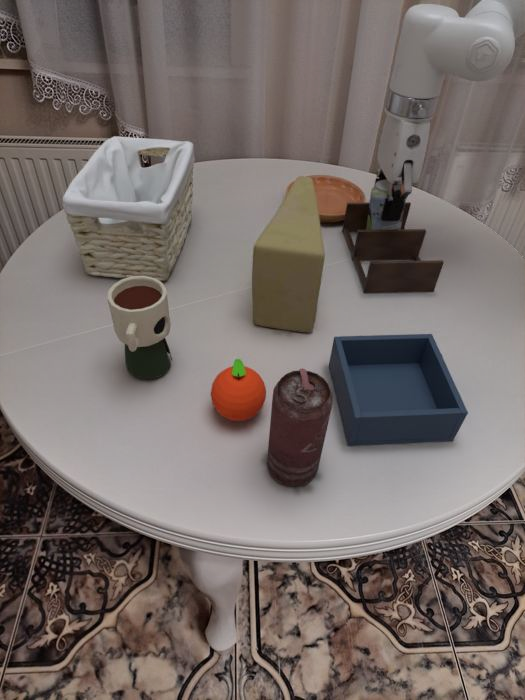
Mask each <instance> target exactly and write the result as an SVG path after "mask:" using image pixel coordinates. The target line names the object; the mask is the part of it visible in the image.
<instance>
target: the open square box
mask: <svg viewBox="0 0 525 700" xmlns="http://www.w3.org/2000/svg"><path fill="white" fill-rule="evenodd" d="M328 368H329V373H330V378H331V382H332V386H333V391H334V394H335V400H336V403H337V407H338V411H339V415H340V416H339V417H340V420H341V424H342V428H343V432H344V438H345V441H346V445H347V447H355V446H356V447H357V446H374V445H376V446H377V445H397V444H398V445H399V444H419V443H421V444H422V443H441V442H442V443H443V442H454V441H455V439H456V437H457V434H458V433H459V431H460V429H461V428H462V425H463V423H464V422H465V419H466V418H467V416H468V414H469V411H468V410H467V408H466V405H465V403H464V401H463V398H462V397H461V394H460V392H459V390H458V388H457V386H456V383H455V381H454V379H453V376H452V375H451V373H450V371H449V368H448V366H447V364H446V361H445V359H444V357H443V355H442V353H441V351H440V349H439V346H438V344H437V342H436V339H435V338H434V335H433V333H413V334H412V333H411V334H410V333H409V334H379V335H377V334H375V335H343V336H342V335H341V336H333V342H332V346H331V352H330V357H329V362H328Z"/></svg>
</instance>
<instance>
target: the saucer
mask: <svg viewBox="0 0 525 700" xmlns="http://www.w3.org/2000/svg"><path fill="white" fill-rule="evenodd" d="M304 177H311V178H312V180H313V184H314V189H315V194H316V198H317V203H318V210H319V218H320V223H328V224H329V223H340V222H344V217H345V211H346V206H347V203H366V195H365V192H364V191H363V189H361V187H360V186H358V185H357V184H356V183H354V182H352V181H350V180H348V179H345V178H342V177H339V176H334V175H328V174H312V175H306V176H304ZM294 182H295V180H293V181H292V182H290V183H289V184H288V185H287V187H286V189H285V197H286V196H287V194H288V192H289V190H290V188H291V186H292V185H293V183H294Z"/></svg>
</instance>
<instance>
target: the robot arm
mask: <svg viewBox="0 0 525 700" xmlns="http://www.w3.org/2000/svg"><path fill="white" fill-rule="evenodd" d="M524 34H525V0H480V1H479V2H478V3H477V4H476V5H474V6H473V7H472V8H471V9H470V10H469V11H468V13H466V15H465V16H464V17H461V16H460V15H459V13H458V12H457V10H455V9H454V8H452V7H450V6H446V5H443V4H442V5H441V4H437V3H436V4H435V3H419V4H415V5H412V6H411V7H409V8H408V9H407V11H406V12H405V15H404V17H403V21H402V25H401V29H400V34H399V40H398V43H397V48H396V53H395V57H394V58H395V59H394V63H393V68H392V71H391V77H390V80H389V86H388V91H387V96H386V100H385V105H384V109H383V111H384V113H385V114H386V116H385V118H384V119H385V120H384V123H383V127H382V131H381V134H380V139H379V142H378V147H377V148H378V149H377V153H376V158H377V163H378V168H377V169H376V178H375V180H374V184H373V187H374V186H375V183H376V182H378V181H380V180H388V181H389V182H390V185H389V194H388V198H386V199H385V203H384V207H383V211H382V215H381V219H382V221H399V220H400V217H401V213H402V209H403V206H404V202H407V198H408V196H410V195H411V194H412V192H413V185H418V183H419V181H420V178H421V175H422V170H423V166H424V163H425V157H426V153H427V149H428V143H429V139H430V131H431V121H432V120H433V119H434V117H435V113H436V110H437V106H438V102H439V99H440V95H441V91H442V88H443V84H444V81H445V77H446V74H449V75H452V76H455V77H457V78H460V79H463V80H466V81H470V82H477V83H479V82H480V83H481V82H487V81H490V80H493V79H495V78H497V77H498V76H500V74H502V73H504V71H505V70H506V69H507V68H508V66H509V65H510V63H511V62H512V59H513V57H514V52H515V46H516V40H517V39H518V38H519V37H521V36H522V35H524ZM398 178H401V180H396V179H398ZM395 180H396V181H395ZM395 185H402V186H401V188H400V190H396V191H395V192H394V189H395Z"/></svg>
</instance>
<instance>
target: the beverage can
mask: <svg viewBox="0 0 525 700" xmlns="http://www.w3.org/2000/svg"><path fill="white" fill-rule="evenodd" d="M395 181H397V180H396V179H395ZM374 185H375V186H374ZM374 185H373V187H372V189H371V191H370V197H369V202H368V203H369V211H368V219H367V227H366V230H391V229H401V224H402V218H403V212H404V207H405V202H406V201H405V202H404V206H403V209H402V213H401V217H400V220H399V221H382V219H381V215H382V211H383V207H384V203H385V199H386V198H388V194H389V185H390V182H389V181H388V180H380V181H378V182H376V183H375V182H374ZM401 186H402V185H395V189H394V192H395V191H396V190H400V188H401Z"/></svg>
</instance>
